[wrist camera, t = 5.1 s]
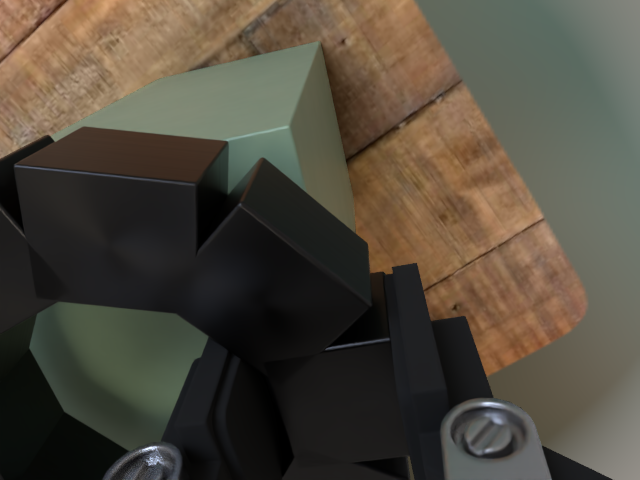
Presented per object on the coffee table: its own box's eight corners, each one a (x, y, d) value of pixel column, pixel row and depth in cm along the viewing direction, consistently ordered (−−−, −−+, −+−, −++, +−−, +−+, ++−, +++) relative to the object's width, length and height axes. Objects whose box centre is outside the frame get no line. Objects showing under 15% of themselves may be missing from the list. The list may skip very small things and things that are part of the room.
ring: (344, 65, 10) (343, 91, 7) (431, 498, 14) (446, 592, 12) (-176, 184, 11) (-302, 235, 9) (55, 541, 16) (8, 631, 14)
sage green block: (320, 40, 28) (290, 124, 12) (353, 199, 32) (367, 437, 15) (157, 78, 29) (-85, 206, 13) (208, 227, 33) (72, 478, 16)
